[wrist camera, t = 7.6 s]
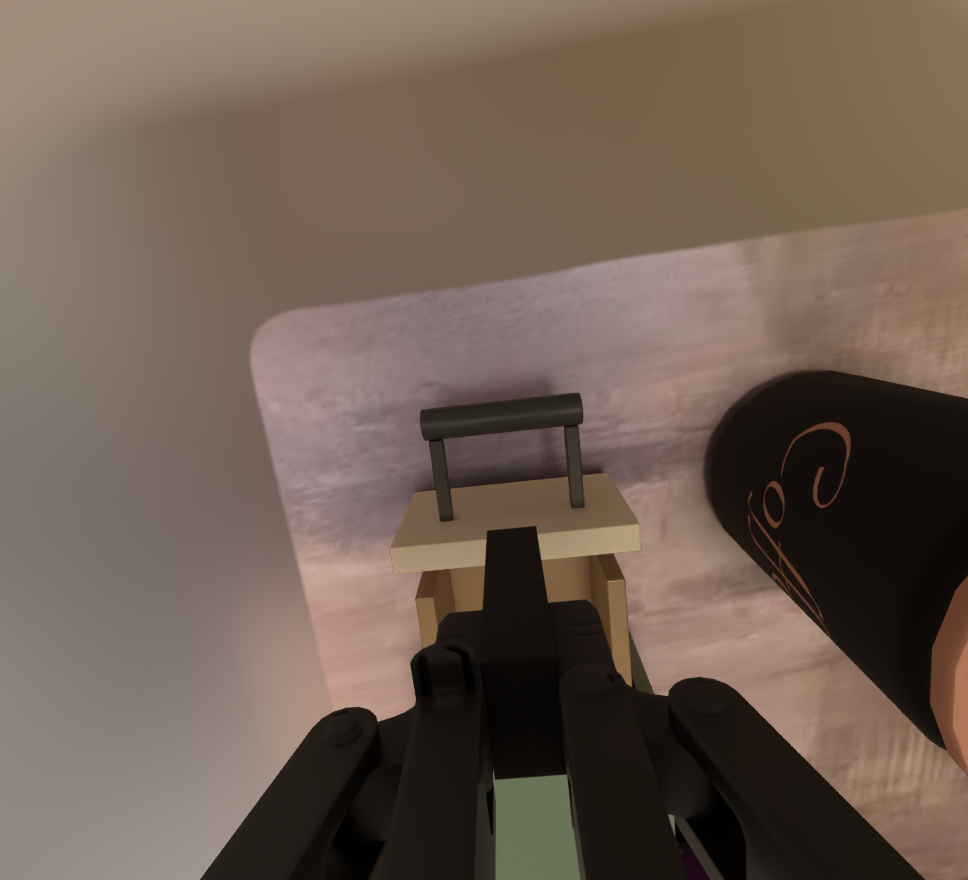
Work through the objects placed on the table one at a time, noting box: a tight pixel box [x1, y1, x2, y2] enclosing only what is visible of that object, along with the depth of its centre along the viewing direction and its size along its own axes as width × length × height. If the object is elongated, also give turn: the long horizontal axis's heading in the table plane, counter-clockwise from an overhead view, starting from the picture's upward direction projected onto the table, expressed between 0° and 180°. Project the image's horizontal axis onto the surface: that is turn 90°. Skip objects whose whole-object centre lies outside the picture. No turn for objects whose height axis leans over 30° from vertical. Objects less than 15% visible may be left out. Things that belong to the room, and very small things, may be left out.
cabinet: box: [493, 628, 675, 880], centre depth 31 cm, size 14×12×9 cm
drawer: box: [390, 392, 641, 687], centre depth 28 cm, size 18×10×7 cm, turn 7°
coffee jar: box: [710, 371, 968, 776], centre depth 23 cm, size 11×11×18 cm
